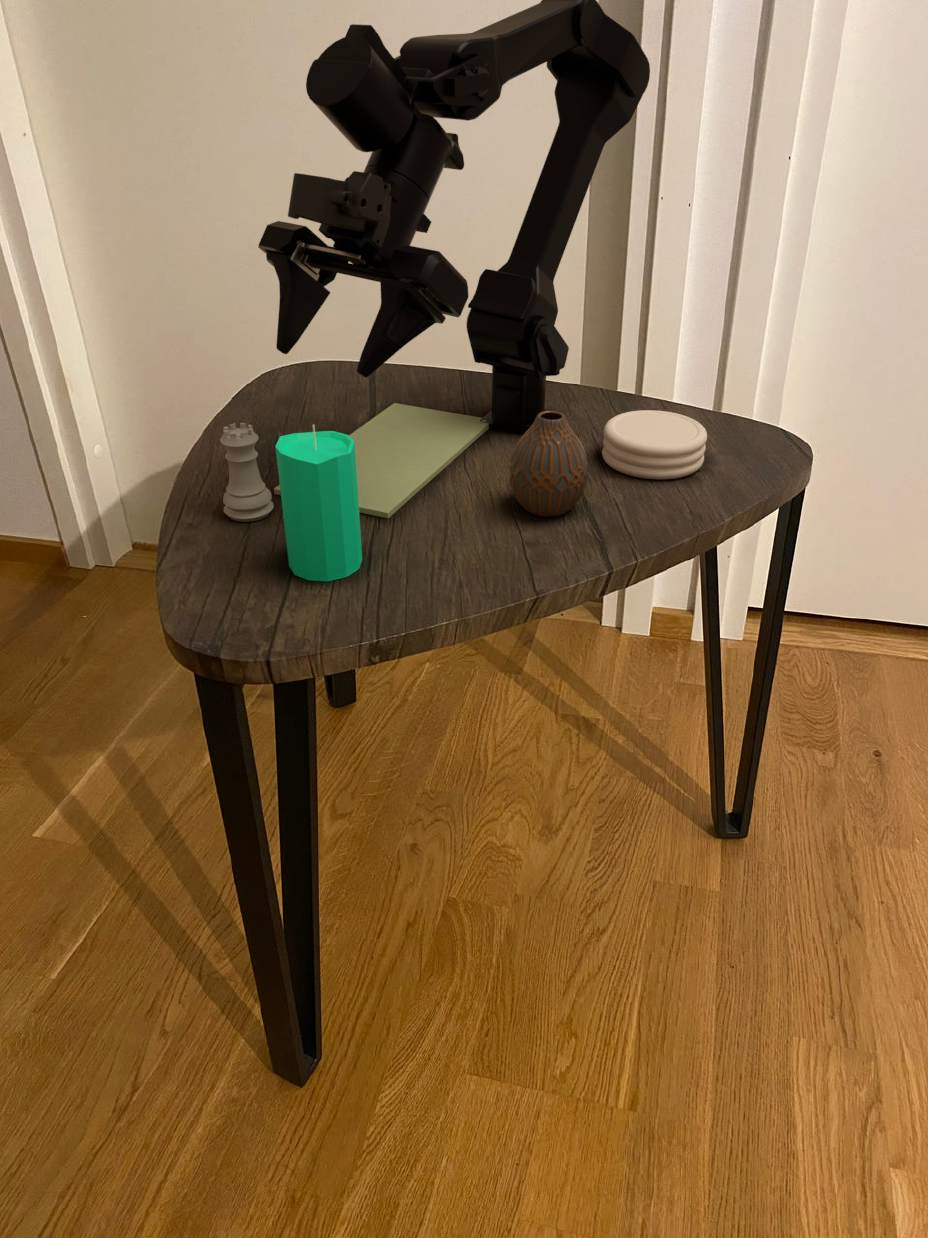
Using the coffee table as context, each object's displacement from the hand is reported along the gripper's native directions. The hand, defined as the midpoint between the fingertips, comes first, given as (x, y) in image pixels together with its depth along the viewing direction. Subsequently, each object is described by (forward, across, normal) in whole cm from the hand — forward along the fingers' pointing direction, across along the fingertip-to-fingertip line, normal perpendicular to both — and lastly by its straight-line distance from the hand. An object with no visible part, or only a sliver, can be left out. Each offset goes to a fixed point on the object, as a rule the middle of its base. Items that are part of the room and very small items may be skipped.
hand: (320, 362), depth 80 cm
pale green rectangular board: (+2, -4, +19) cm, 19 cm away
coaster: (-7, +16, +31) cm, 36 cm away
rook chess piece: (+14, -6, +6) cm, 16 cm away
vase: (+2, +14, +19) cm, 24 cm away
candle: (+15, +6, +4) cm, 16 cm away
